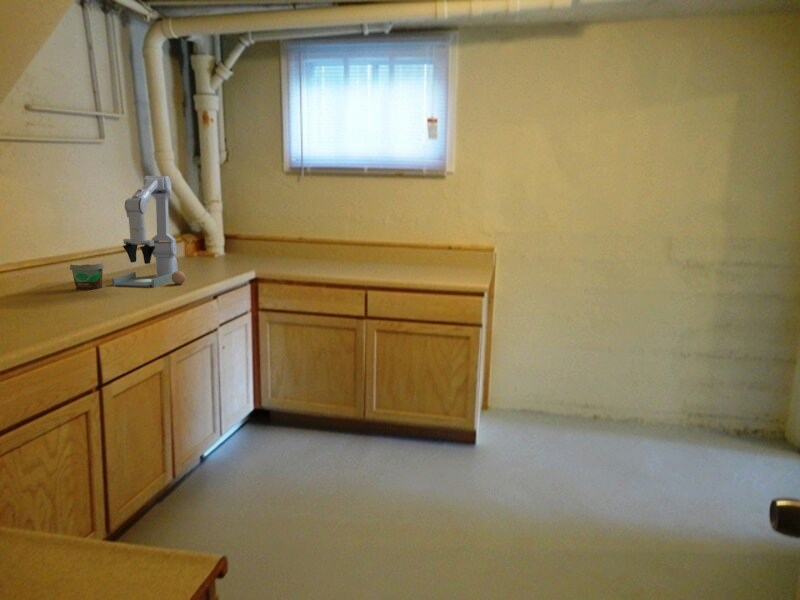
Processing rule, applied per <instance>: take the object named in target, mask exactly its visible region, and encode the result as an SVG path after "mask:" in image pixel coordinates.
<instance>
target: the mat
mask: <svg viewBox="0 0 800 600" xmlns="http://www.w3.org/2000/svg"><path fill="white" fill-rule="evenodd" d="M156 278H158V277H152V276H136V278H134V279H131V280H128V281H125V282H122V283H119V284H116V286H115V287H119V288H120V287H123V288H146V289H147V288H148V289H149V288H152V280H153V279H156Z"/></svg>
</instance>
